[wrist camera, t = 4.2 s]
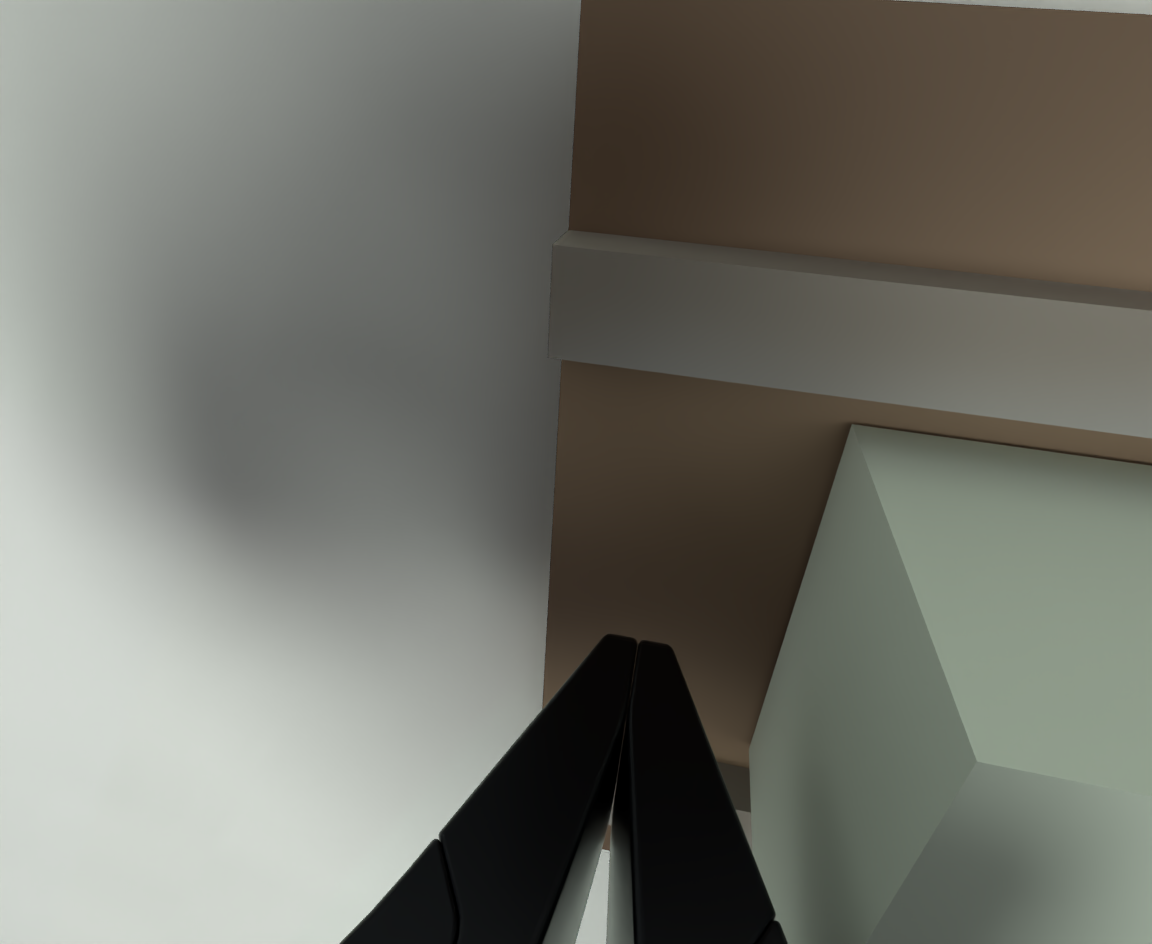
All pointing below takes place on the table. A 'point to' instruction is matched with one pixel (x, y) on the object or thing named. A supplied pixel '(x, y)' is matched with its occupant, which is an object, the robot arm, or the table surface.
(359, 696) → the table surface
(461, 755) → the table surface
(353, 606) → the table surface
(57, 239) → the table surface
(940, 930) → the block
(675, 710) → the robot arm
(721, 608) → the track
